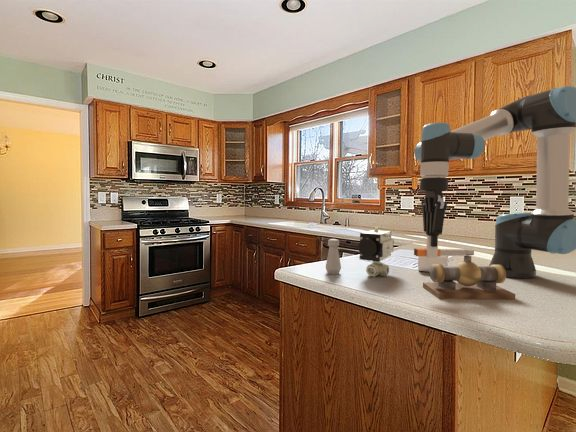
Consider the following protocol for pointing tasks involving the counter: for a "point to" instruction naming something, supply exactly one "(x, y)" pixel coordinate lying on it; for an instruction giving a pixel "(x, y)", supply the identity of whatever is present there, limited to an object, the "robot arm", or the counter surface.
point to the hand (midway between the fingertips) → (431, 257)
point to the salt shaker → (333, 258)
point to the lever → (445, 252)
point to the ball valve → (376, 250)
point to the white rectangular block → (431, 262)
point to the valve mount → (468, 281)
